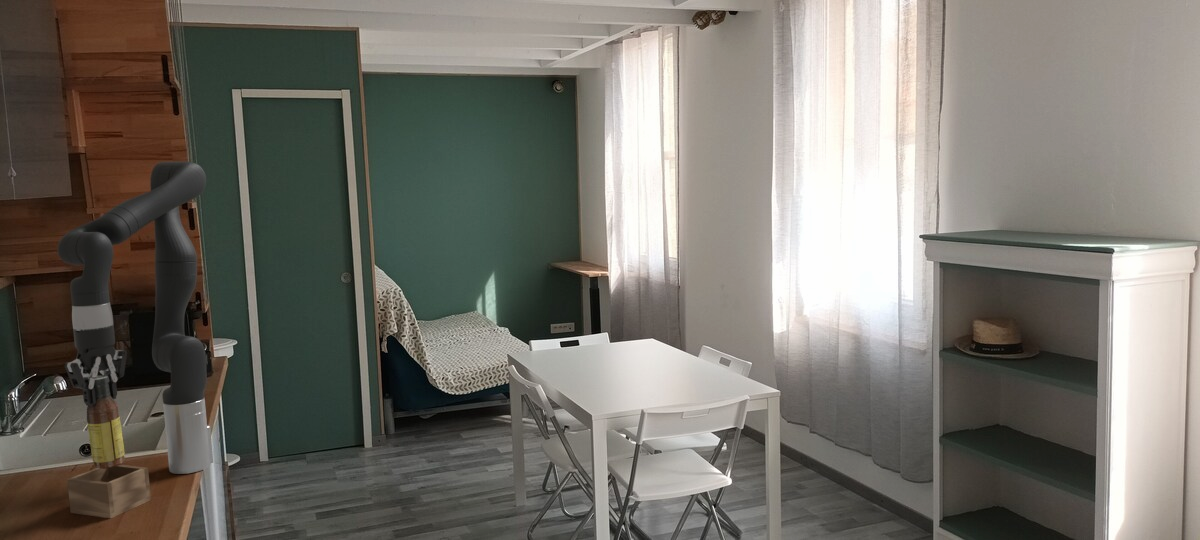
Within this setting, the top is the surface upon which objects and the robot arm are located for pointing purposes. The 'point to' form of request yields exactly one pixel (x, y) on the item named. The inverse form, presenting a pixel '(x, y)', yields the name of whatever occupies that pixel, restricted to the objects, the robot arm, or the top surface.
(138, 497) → the box
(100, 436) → the sauce bottle
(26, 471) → the top surface
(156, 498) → the top surface
